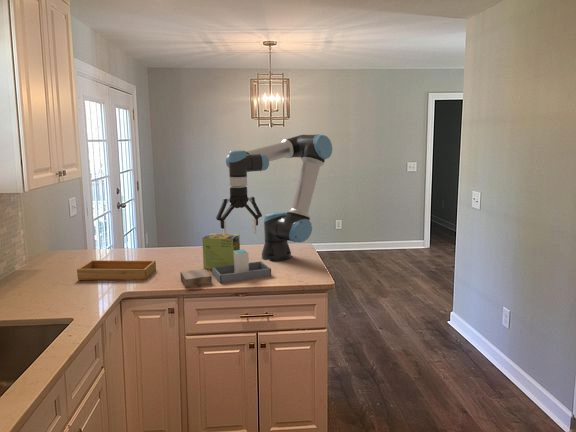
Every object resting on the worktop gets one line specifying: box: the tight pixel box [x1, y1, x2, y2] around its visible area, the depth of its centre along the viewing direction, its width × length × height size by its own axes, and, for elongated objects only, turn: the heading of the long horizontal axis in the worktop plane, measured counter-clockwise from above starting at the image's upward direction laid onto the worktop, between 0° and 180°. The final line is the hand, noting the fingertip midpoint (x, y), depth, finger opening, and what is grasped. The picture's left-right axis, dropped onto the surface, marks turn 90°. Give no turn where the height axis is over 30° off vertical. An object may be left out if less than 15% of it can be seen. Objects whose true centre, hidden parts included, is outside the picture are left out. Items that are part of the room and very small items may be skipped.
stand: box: [180, 268, 213, 289], centre depth 209 cm, size 11×12×4 cm
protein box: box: [201, 233, 241, 270], centre depth 231 cm, size 10×15×16 cm
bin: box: [211, 261, 272, 284], centre depth 216 cm, size 23×14×4 cm, turn 112°
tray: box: [76, 259, 157, 281], centre depth 222 cm, size 31×15×6 cm, turn 88°
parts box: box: [234, 249, 250, 273], centre depth 216 cm, size 5×6×11 cm
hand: (239, 234), depth 213 cm, fingers open, 13 cm apart
